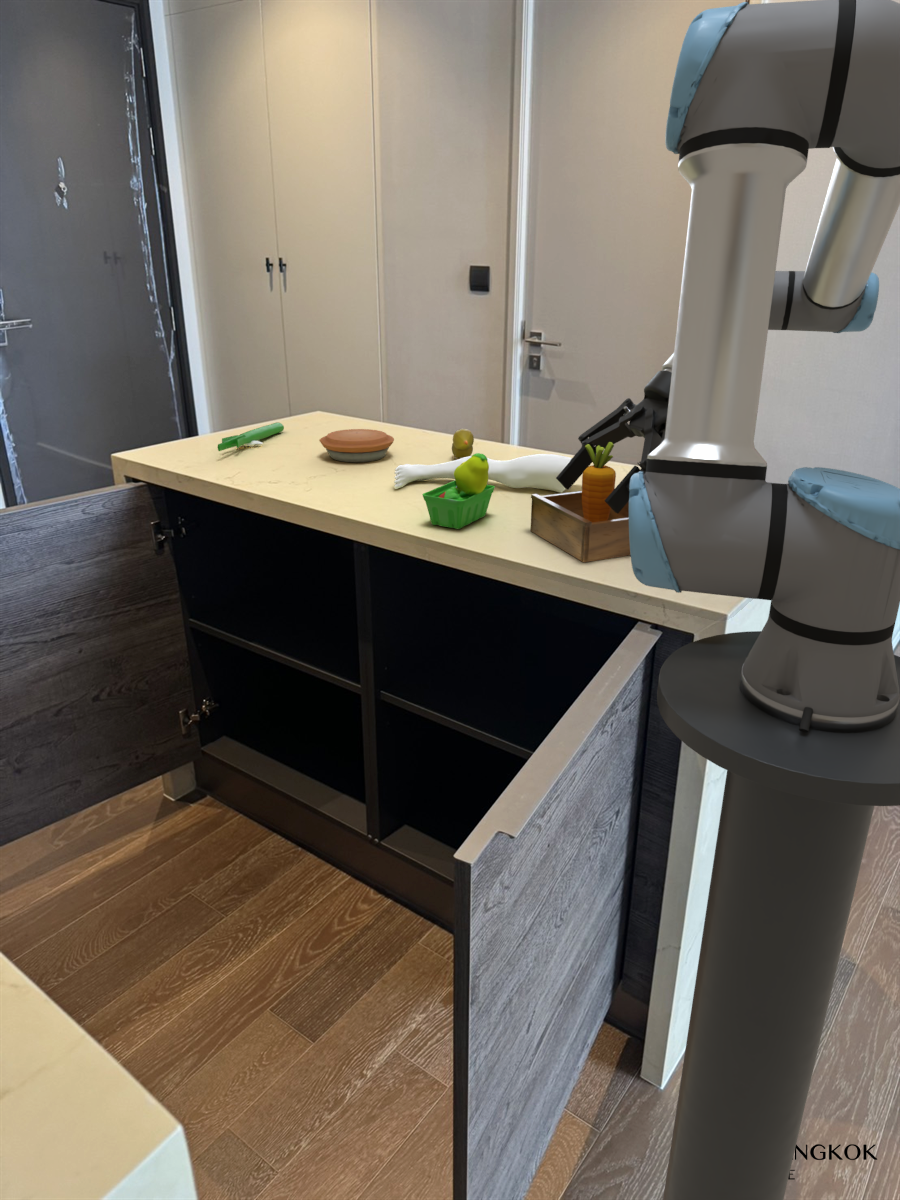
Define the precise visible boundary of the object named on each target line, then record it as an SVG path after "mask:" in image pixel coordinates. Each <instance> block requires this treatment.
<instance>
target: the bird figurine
mask: <svg viewBox="0 0 900 1200" xmlns="http://www.w3.org/2000/svg"><path fill="white" fill-rule="evenodd" d="M474 442H475V438H474V435H473V433H472V431H471V430H469V429H467V428H461V429H458V430H456V431H455V432H454V433H453V436H452V445H451V452H452V455H453V456H454V457H455V458H456V459H457V460H458V459H460V458H464V457H468V456H472V455H473V451H474V446H473V445H474Z"/></svg>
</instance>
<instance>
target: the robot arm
mask: <svg viewBox="0 0 900 1200" xmlns="http://www.w3.org/2000/svg"><path fill="white" fill-rule="evenodd" d="M664 135H665V141H664V142H665V143H664V145H665V148H666V150H667V151H669V152H671V153H673V154H674V155H678V162H677V163H678V164H677V171H678V173H679V174H680V176H681V177H682V178H683V179H684V180H685V181H686V182H687V184H688V185H689V186H690V188H691V194H690V195H691V196H690V203H689V204H690V205H689V214H688V223H687V231H686V232H687V233H686V241H685V250H684V259H683V268H682V277H681V286H680V295H679V304H678V306H679V307H678V312H677V313H678V314H677V321H676V322H677V324H676V332H675V341H674V349H673V350H674V351H673V353H672V354H671V355H670V356H669V357H668V359H667V360H666V361H665V362H664V364H662V366H661V370H658V371H657V372H656V373H655V374H654V375H653V377H651V379H650V380H649V381H648V383H647V384H646V385H645V386H644V388H643V394H644V395H643V396H644V397H643V399H642V400H641V401H639V403H637V404H636V403H635V402H633V400H632V399H631V398H630V397H628V398H626V399H625V400H624V401H623V402H622V403H620V404H619V406H618V407H617V408H616V409H614V410H613V411H612V412H610V413H609V414H607V415H606V416H604V417H603V418H602V419H601V420H599V421H598V422H596V423H595V424H594V425H592V426H591V427H589V428H588V429H586V430H585V431H584V432H582V434H580V435H579V436H578V438H577V440H578V441H579V442H580V444H581V447H580V448H579V449H578V450H577V452H576V453H575V454H574V455H573V456H572V457H571V458H572V459H571V460H570V462H569V463H568V464H567V466H566V467H565V468H564V469H563V470H562V471H561V473H560V474H559V475H558V476H557V477H556V479H557V480H558V481H559V482H560V483H561V484H562V485H563V486H564V487H565V489H566V490H567V491H569V490H570V489H571V487H573V485H574V484H575V483H576V482H577V481H578V480H579V479H580V477H582V475H583V472H584V470H585V469H586V468H587V467H588V466H591V465H592V464H593V462H592V460H591V457H590V455H589V453H588V451H587V449H586V448H585V446H586V445H587V444H589V445H590V446H591V447H592V449H593V452H594V455H595V458H596V447H597V446H598V445H599V446H600V447H603V448H606V446H607V444H608V443H609V442H612V443H613V445H615V444H617V443H619V442H622V441H623V440H624V439H627V438H630V439H631V438H635V437H637V438H643V439H644V441H643V447H642V452H641V460H640V461H639V462H637V463H636V464H637V465H634V466H633V467H632V468H631V469H630V470H629V472H628V473H626V475H625V476H624V477H623V478H622V480H621V481H620V482H619V483H618V484H617V485H616V486H615V489H614V490H613V491H612V493H611V494H610V495H609V496H608V497H607V498H606V500H605V502H606V503H607V504H608V505H609V506H610V507H611V508H612V510H613V511H614V512H615V513H617V514H618V513H619V512H620V511H621V510H622V508H623V507H624V506H625V505H626V504H627V503H628V501H629V541H630V555H629V556H630V564H631V568H632V569H631V570H632V573H633V575H634V577H635V579H636V580H637V581H638V582H639V583H641V584H642V585H644V586H647V587H652V588H657V589H665V590H670V591H675V593H678V594H681V593H682V592H691V593H699V594H708V595H715V596H716V595H718V596H727V597H736V598H744V599H745V598H746V599H754V600H765V601H770V605H769V612H768V618H767V621H766V622H765V624H764V626H763V628H762V629H761V630H760V631H761V633H760V635H759V637H758V638H757V640H756V642H755V644H754V646H753V647H752V649H751V650H750V652H749V654H748V655H747V657H746V660H745V662H744V664H743V666H742V672H741V679H740V688H741V691H742V693H743V694H744V696H745V697H746V698H747V699H748V700H749V701H750V702H751V703H752V704H753V705H755V706H756V707H757V708H759V709H760V710H762V711H764V712H765V713H767V714H769V715H771V716H773V717H775V718H778V719H780V720H783V721H785V722H788V723H791V724H794V725H798V726H800V727H799V730H800V731H801V732H805V733H807V732H808V731H809V728H810V729H815V730H821V731H828V732H842V733H852V732H864V731H870V730H874V729H878V728H880V727H883V726H885V725H887V724H888V723H890V722H891V721H892V720H893V719H894V717H895V715H896V712H897V708H898V704H899V699H900V694H899V685H898V679H897V672H896V666H895V659H894V655H895V654H894V648H893V635H894V630H895V625H896V621H897V617H898V613H899V609H900V488H899V487H897V486H895V485H893V484H891V483H889V482H886V481H883V480H881V479H879V478H878V479H877V478H875V477H871V476H868V475H864V474H861V473H856V472H851V471H846V470H843V469H836V468H830V467H821V466H815V467H808V466H804V467H798V468H796V469H794V470H793V471H792V473H791V475H790V476H788V478H787V479H788V480H787V483H779V482H768V481H766V479H767V471H768V462H767V461H766V459H765V458H764V457H763V456H762V455H761V454H760V452H759V451H758V450H757V449H756V447H755V446H756V445H755V435H756V428H757V421H758V420H757V419H758V412H759V411H758V410H759V403H760V396H761V389H762V388H761V387H762V381H763V372H764V363H765V357H766V348H767V341H768V334H769V331H793V332H795V331H797V332H798V331H799V332H819V333H821V332H822V333H833V334H841V333H854V332H858V333H860V332H863V331H866V330H867V329H868V328H869V327H870V326H871V325H872V322H873V321H874V316H875V313H876V311H877V310H876V309H877V305H878V301H879V292H880V279H879V276H878V275H877V274H876V273H874V272H872V271H873V269H874V268H875V265H876V262H877V259H878V257H879V255H880V253H881V250H882V247H883V246H884V244H885V241H886V239H887V236H888V234H889V231H890V229H891V227H892V224H893V222H894V219H895V217H896V214H897V212H898V210H899V207H900V2H897V1H895V0H801V1H800V0H799V1H798V0H797V1H782V2H781V1H780V2H766V3H764V2H763V3H749V2H748V1H742V2H740V3H738V4H737V5H731V6H720V7H714V8H707V9H704V10H702V11H701V12H699V13H698V14H697V15H696V16H695V17H694V18H693V20H692V21H691V22H690V24H689V26H688V28H687V30H686V33H685V35H684V38H683V41H682V45H681V47H680V52H679V56H678V60H677V64H676V68H675V73H674V77H673V83H672V87H671V92H670V98H669V107H668V115H667V119H666V126H665V134H664ZM830 148H832V149H833V153H834V155H835V157H836V158H835V163H834V166H833V170H832V174H831V178H830V181H829V185H828V187H827V190H826V191H827V192H826V194H825V198H824V203H823V206H822V209H821V213H820V217H819V220H818V223H817V228H816V231H815V235H814V238H813V242H812V246H811V249H810V253H809V257H808V260H807V263H806V267H805V270H777V264H778V263H777V262H778V255H779V248H780V238H781V232H782V231H781V230H782V222H783V217H784V214H783V213H784V208H785V200H786V194H787V193H786V192H787V188H788V186H790V184H791V183H792V182H793V181H794V180H795V179H797V178H798V177H799V175H801V174H802V173H803V172H804V171H805V170H806V168H807V164H808V157H809V150H810V149H811V150H813V149H830ZM628 422H629V423H628Z"/></svg>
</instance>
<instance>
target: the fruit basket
mask: <svg viewBox="0 0 900 1200" xmlns="http://www.w3.org/2000/svg"><path fill="white" fill-rule="evenodd" d="M471 456H472V457H471V458H469V459H468V460H467V461H465V462H463V463H462V464H460V466H458V467H457V468H456V469H455V471H454V477H455V479H454V480H452V481H450V482H448V483H446V484H445V483H444V484H443V485H441V486H438V487H436V488H434V489H431V490H429V491H426V492H424V493H422V498H423V500H424V502H425V505H426V509H427V512H428V516H429V520H430V523H431V525H434V526H440V527H444V528H451V529H455V530H460V529H462V528H464V527H465V526H466V527H467V526H468V525H470V524H472V523H474V522H477V521H478V520H479V519H482V518H484V517H486V514H487V511H488V508H489V505H490V501H491V498H492V494H493V493H494V491H495V488H496V486H495V485H491V484H488V482H489V479H488V470H489V464H488V462H487V460H488V459H487V458H488V457H487V456H486V454H484V453H479V452H476V453H474V454H471Z"/></svg>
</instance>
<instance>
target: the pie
mask: <svg viewBox="0 0 900 1200" xmlns="http://www.w3.org/2000/svg"><path fill="white" fill-rule="evenodd" d="M318 441H319V443H320V444H321V446H322V447H323V448H325V451H326V452H327V453H328V455H329V457H330V458H331V459H333V460H335V461H338V462H342V463H343V462H344V463H368V462H374V461H378V460H381V459H383V458H385V456H386V454H387V452H388V450H389V448H390V447H391V446H392V445H393V444H394V441H395V438H394V437H393V436H392V435H390V434H387V432H384V431H383V430H378V429H368V428H351V429H349V428H348V429H339V430H335V431H331V432H329V433H327V435H324V436H323V437H320V438H319V439H318Z"/></svg>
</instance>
